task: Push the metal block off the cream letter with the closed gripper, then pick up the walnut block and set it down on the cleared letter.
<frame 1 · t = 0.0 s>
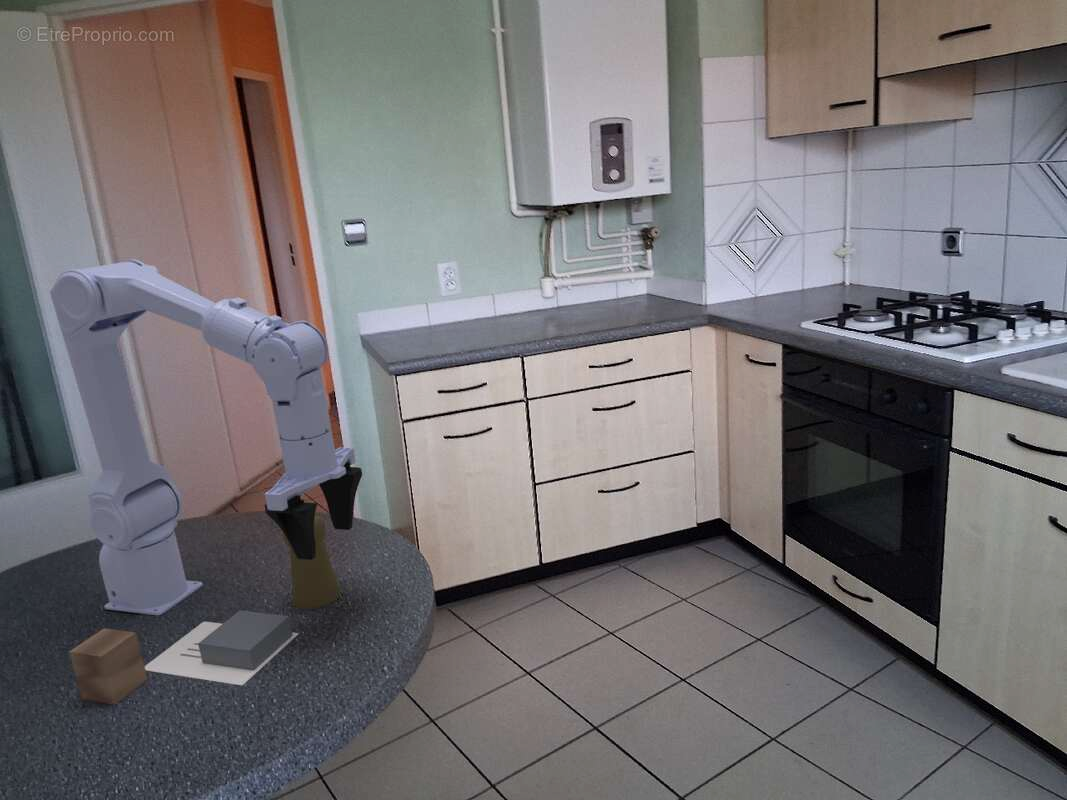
hand: (325, 542, 93), 10 cm above the countertop, tool pointing down, fingers open, 7 cm apart
letter: (221, 652, 91), on the countertop
walnut block: (116, 690, 86), on the countertop
cork: (317, 599, 101), on the countertop
metal block: (248, 648, 91), resting on letter
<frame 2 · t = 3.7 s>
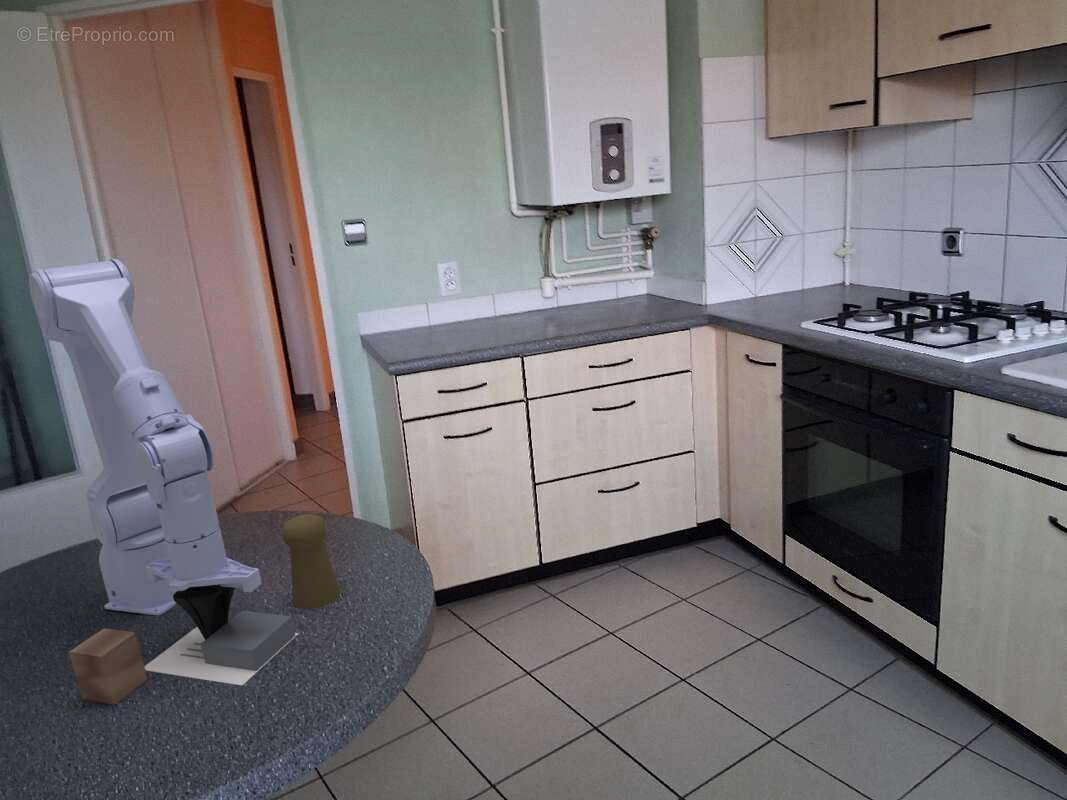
hand: (217, 639, 92), 1 cm above the countertop, tool pointing down, fingers closed
metal block: (251, 649, 91), resting on letter, touching gripper
everything else where it was.
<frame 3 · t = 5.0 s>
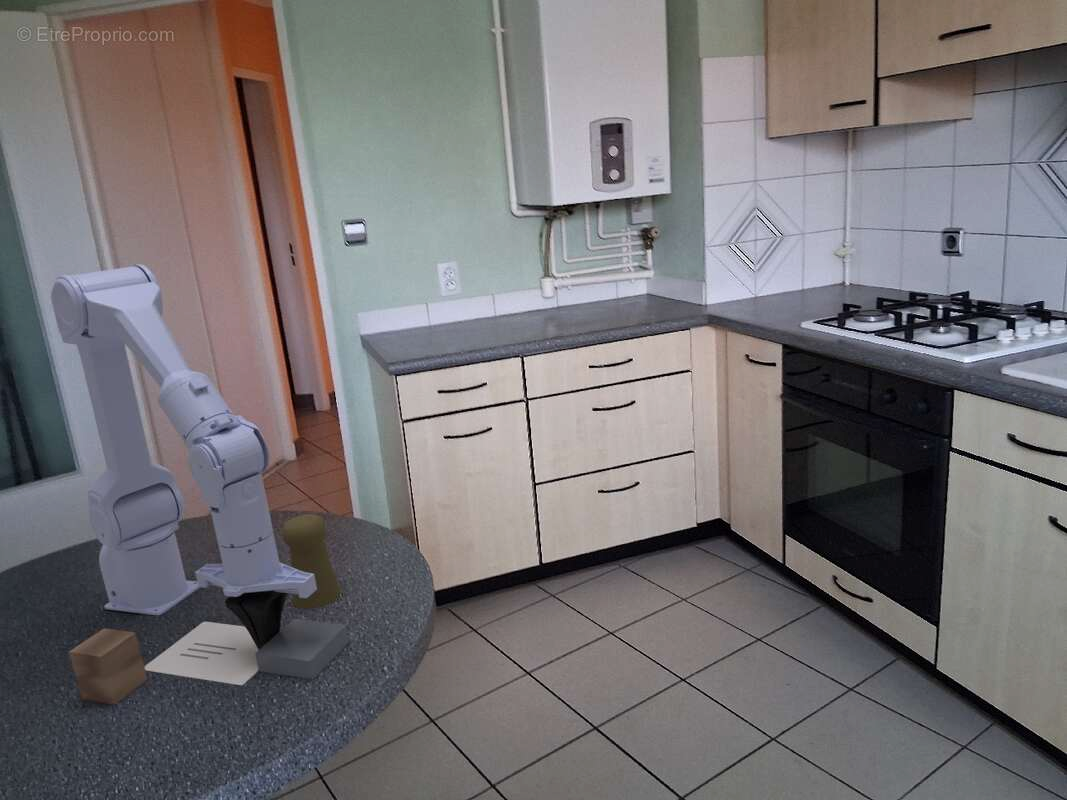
hand: (269, 646, 90), 1 cm above the countertop, tool pointing down, fingers closed
metal block: (305, 658, 88), on the countertop
everything else where it was.
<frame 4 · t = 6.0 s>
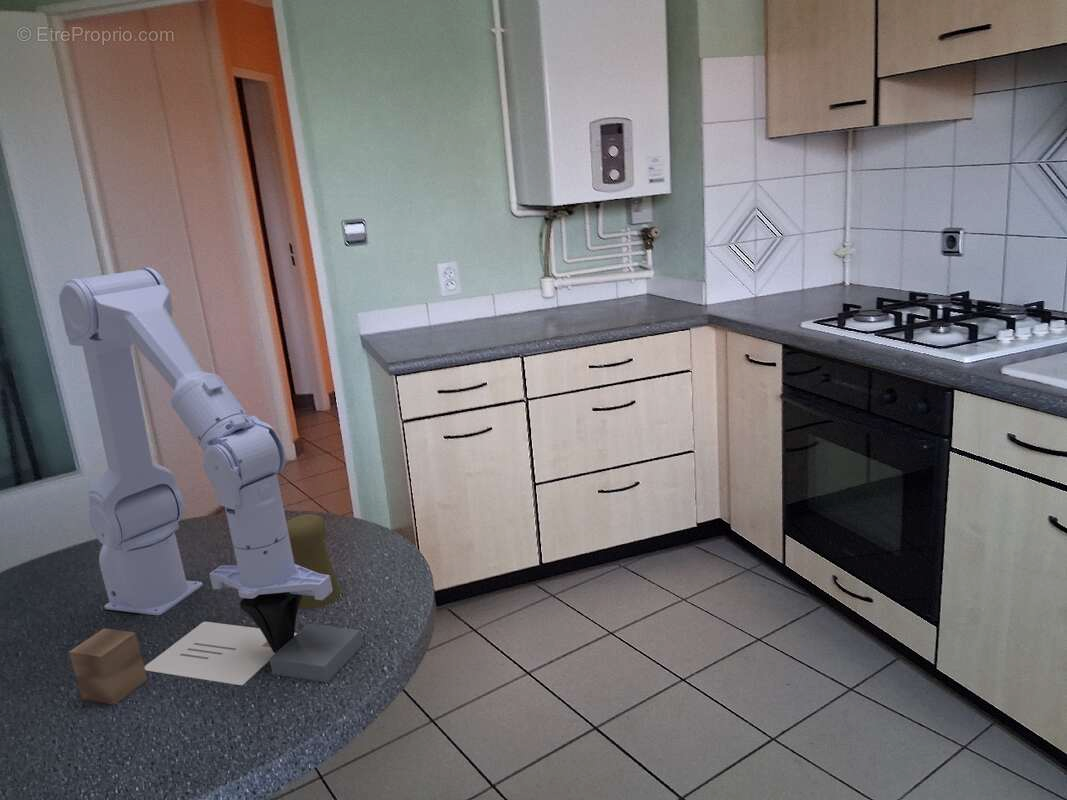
hand: (283, 648, 89), 1 cm above the countertop, tool pointing down, fingers closed
metal block: (319, 664, 88), on the countertop
everything else where it was.
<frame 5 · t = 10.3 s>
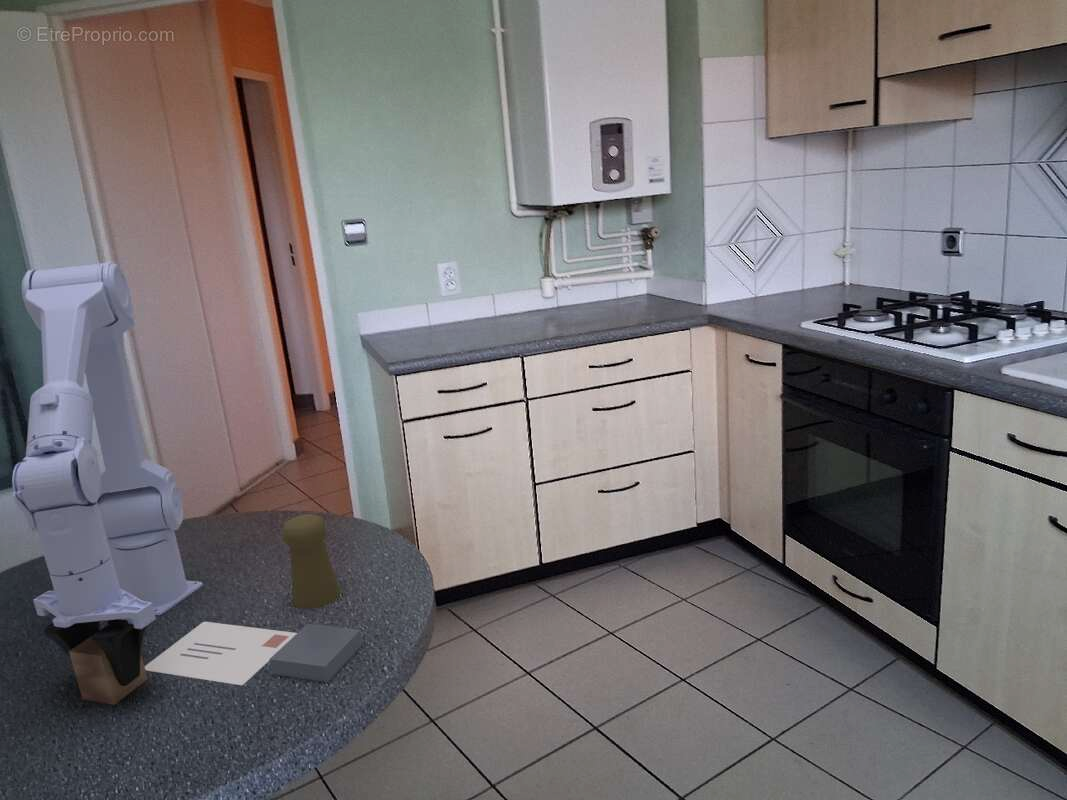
hand: (112, 677, 85), 2 cm above the countertop, tool pointing down, fingers closed on walnut block, 4 cm apart
walnut block: (116, 690, 86), on the countertop, touching gripper
everything else where it was.
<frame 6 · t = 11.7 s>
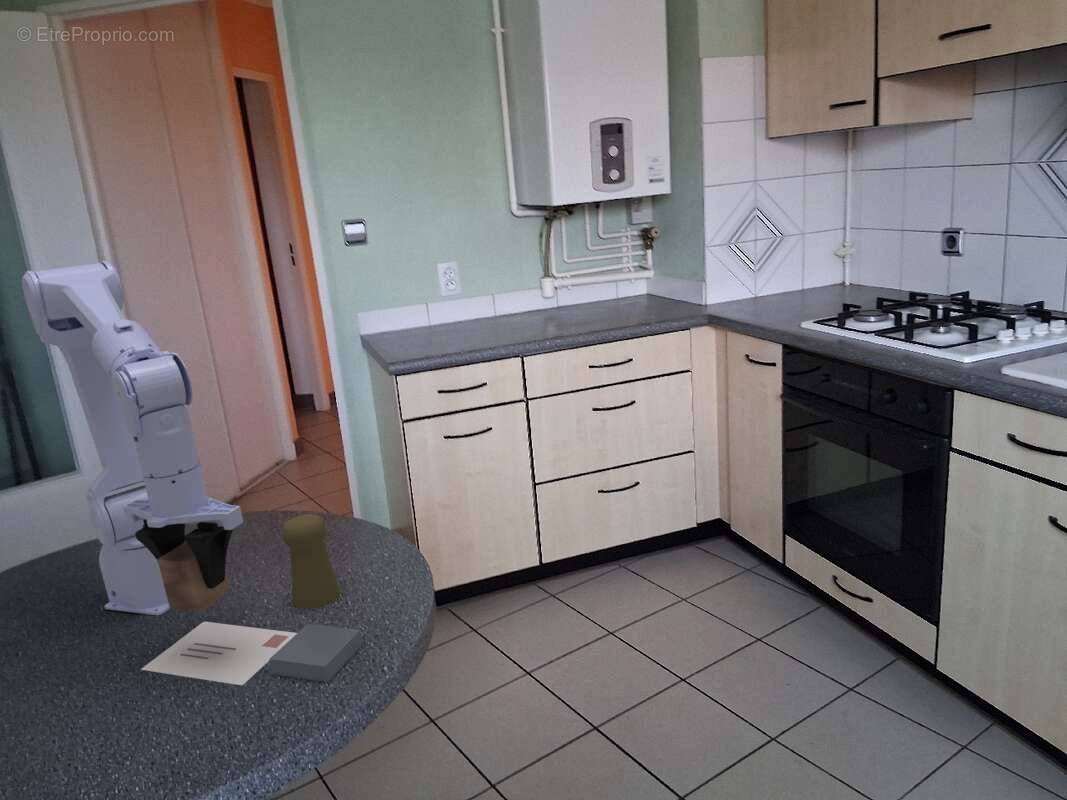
hand: (198, 582, 89), 9 cm above the countertop, tool pointing down, fingers closed on walnut block, 4 cm apart
walnut block: (200, 599, 89), point 7 cm above the countertop, touching gripper
everything else where it was.
when the fingers open (3 cm above the countertop, at t = 13.3 s): walnut block stays where it is, resting on letter.
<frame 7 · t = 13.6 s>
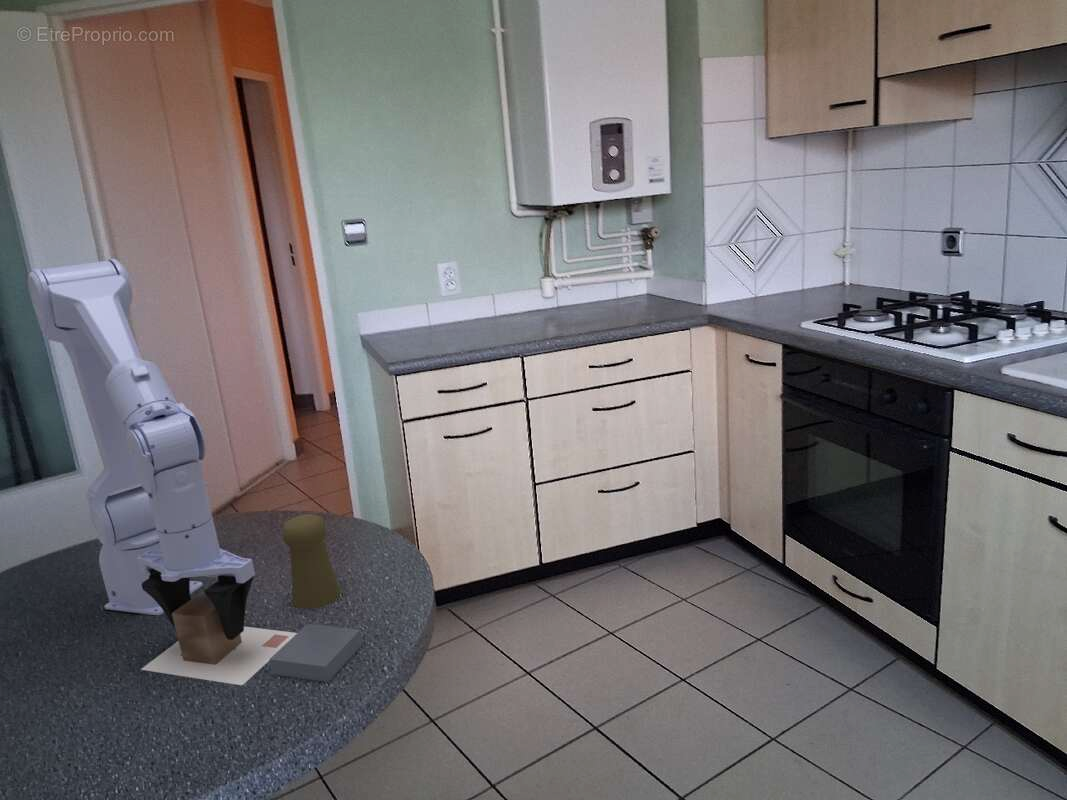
hand: (210, 631, 91), 3 cm above the countertop, tool pointing down, fingers open, 7 cm apart
walnut block: (213, 651, 91), resting on letter
everything else where it was.
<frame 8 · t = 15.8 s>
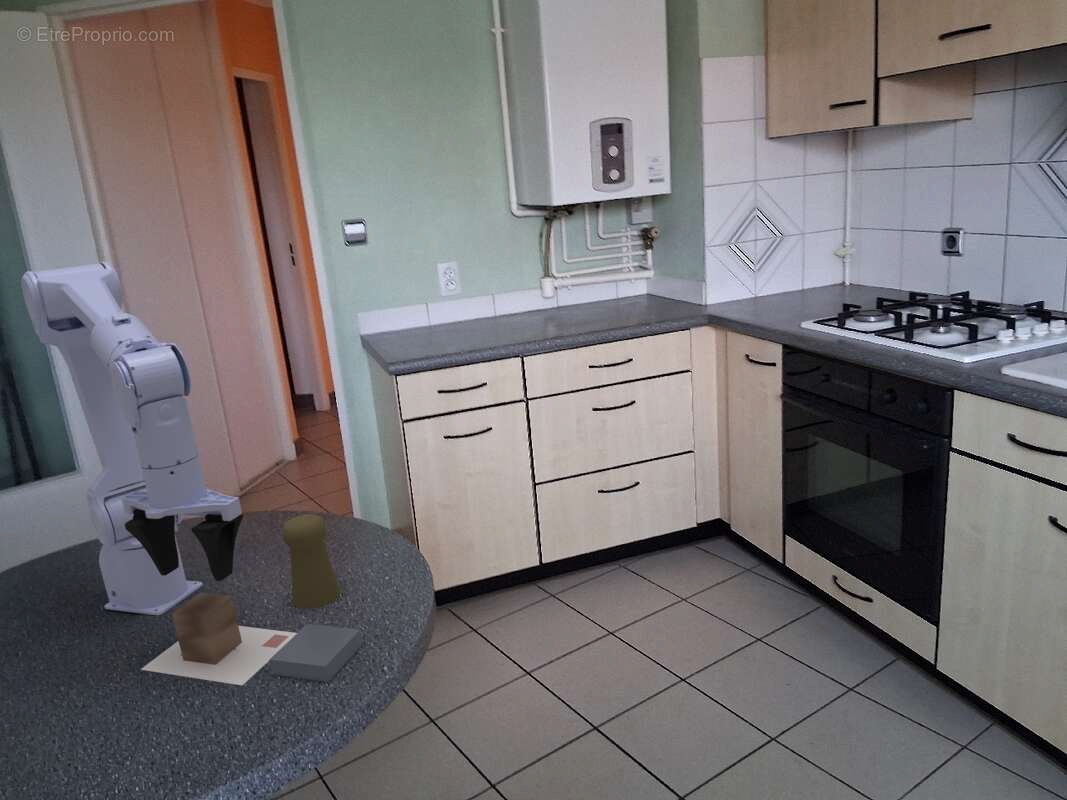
hand: (196, 574, 89), 10 cm above the countertop, tool pointing down, fingers open, 7 cm apart
nothing on the countertop moved.
at the end: metal block inside the target area (5.8 cm from its centre), on the countertop; walnut block inside the target area on the letter (1.0 cm from its centre), point 0.2 cm above the letter's base; walnut block tilted 0° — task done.
